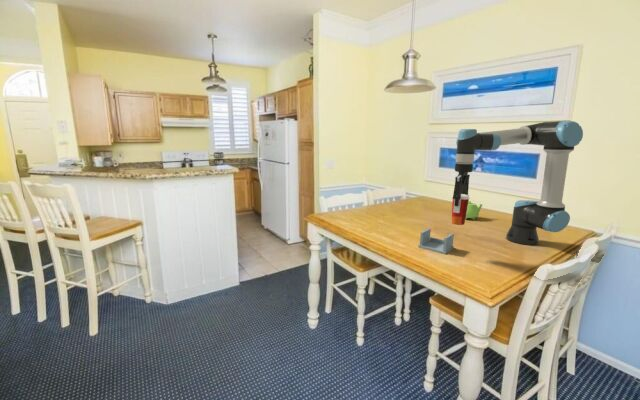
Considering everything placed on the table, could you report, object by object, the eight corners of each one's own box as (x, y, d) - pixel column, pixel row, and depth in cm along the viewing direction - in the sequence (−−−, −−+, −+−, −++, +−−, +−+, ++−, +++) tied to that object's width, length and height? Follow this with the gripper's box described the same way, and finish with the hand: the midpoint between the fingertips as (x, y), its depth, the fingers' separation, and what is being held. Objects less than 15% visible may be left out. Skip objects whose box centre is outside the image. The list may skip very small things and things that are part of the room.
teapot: (475, 215, 222) (477, 199, 220) (486, 220, 209) (488, 203, 207) (449, 215, 221) (450, 199, 219) (458, 220, 208) (460, 203, 206)
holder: (453, 247, 156) (455, 233, 155) (445, 254, 147) (446, 238, 146) (427, 241, 165) (428, 227, 164) (418, 247, 157) (419, 232, 155)
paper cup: (461, 221, 148) (464, 193, 145) (469, 225, 141) (473, 196, 138) (446, 221, 148) (448, 193, 145) (453, 225, 140) (456, 196, 137)
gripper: (462, 161, 148) (457, 206, 153) (448, 164, 133) (443, 213, 138) (478, 162, 143) (473, 208, 148) (466, 165, 128) (460, 216, 133)
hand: (459, 210), depth 143 cm, fingers closed on paper cup, 8 cm apart
